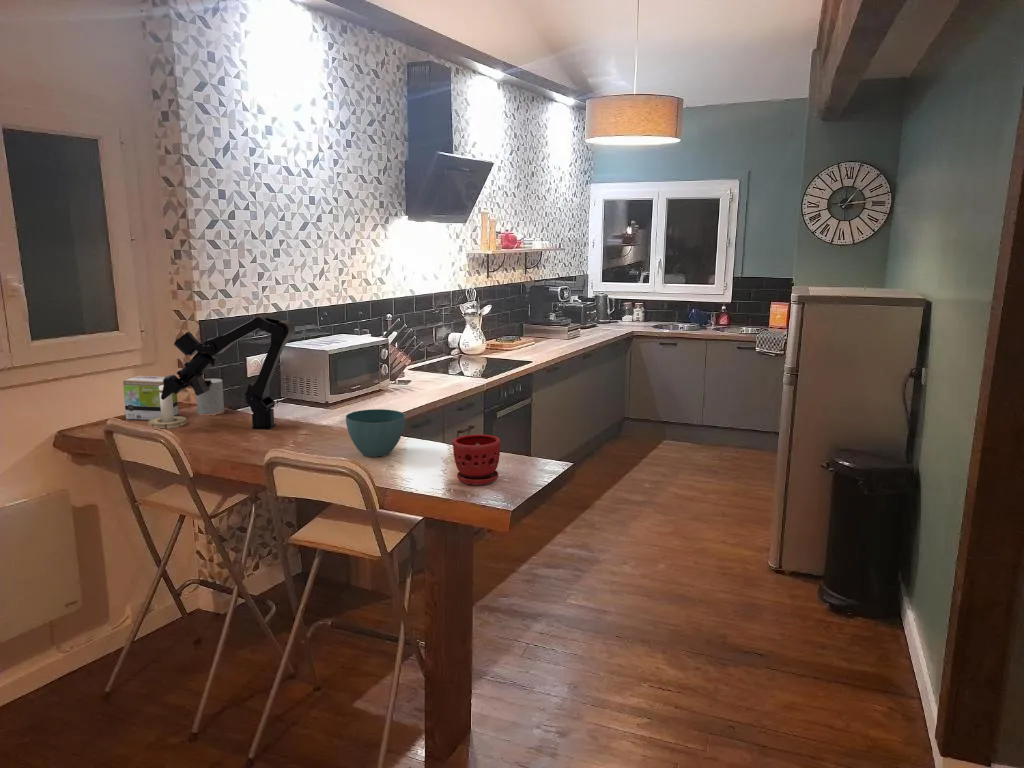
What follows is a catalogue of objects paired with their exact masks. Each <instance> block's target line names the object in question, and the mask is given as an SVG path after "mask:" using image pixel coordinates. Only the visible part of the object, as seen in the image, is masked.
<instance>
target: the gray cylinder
mask: <svg viewBox="0 0 1024 768" xmlns="http://www.w3.org/2000/svg"><path fill="white" fill-rule="evenodd" d="M204 379H205V380H211V382H212V385H211V386H210V387H209V388H210V389H209V391H207V392H205V393H203V394H201V395H198V396H197V395H196V394H195V398H196V409H197V410H196V411H197V413H199V414H214V413H219V412H222V411H224V412H225V401H224V388H223V385H224V384H223V381H224V380H223V379H221V378H204Z"/></svg>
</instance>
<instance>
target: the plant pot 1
mask: <svg viewBox="0 0 1024 768" xmlns="http://www.w3.org/2000/svg"><path fill="white" fill-rule="evenodd" d="M345 423H346V424H345V425H346V427H347V431H348V432H347V433H348V434H349V437H350V440H351V441H352V442H353V445H354V446H355V447H356V449H357V450H358V451H359V452H360V454H362V455H363V456H364V455H365V456H364V457H368V456H372V457H371V458H379V457H378V456H383V457H386V456H388V455H390V454H391V453H392V451H394V449H395V448H396V446H397V445H398V443H399V442H400V440H401V437H402V434H403V432H404V428H405V423H406V414H405V413H404V412H402V411H398V410H394V409H383V408H382V409H381V408H379V409H377V408H373V409H364V410H363V409H361V410H357V411H352V412H350V413H347V414H346V415H345ZM385 455H386V456H385Z"/></svg>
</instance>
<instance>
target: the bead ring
mask: <svg viewBox="0 0 1024 768" xmlns="http://www.w3.org/2000/svg"><path fill="white" fill-rule="evenodd" d="M147 423H148V426H149V425H150V426H154V427H160V428H164V429H163V430H166V429H167V430H168V429H175V428H180V427H183V426H185V425H187V424H188V418H186V417H185V416H181V415H180V416H179V415H176V416H174V422H168V423H162V419H161V417H159V418H154V419H152V420H148V422H147ZM186 423H187V424H186ZM184 424H185V425H184ZM182 425H183V426H182Z"/></svg>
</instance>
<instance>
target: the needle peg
mask: <svg viewBox="0 0 1024 768" xmlns="http://www.w3.org/2000/svg"><path fill="white" fill-rule="evenodd" d="M163 386H164V385H161V386H159V394H160V406H161V419H162V423H168V422H174V412H173V399H172V394H171V395H170V396H168V397H167V398H165V399H164V400H162V399H161V395H162V391H163Z"/></svg>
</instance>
